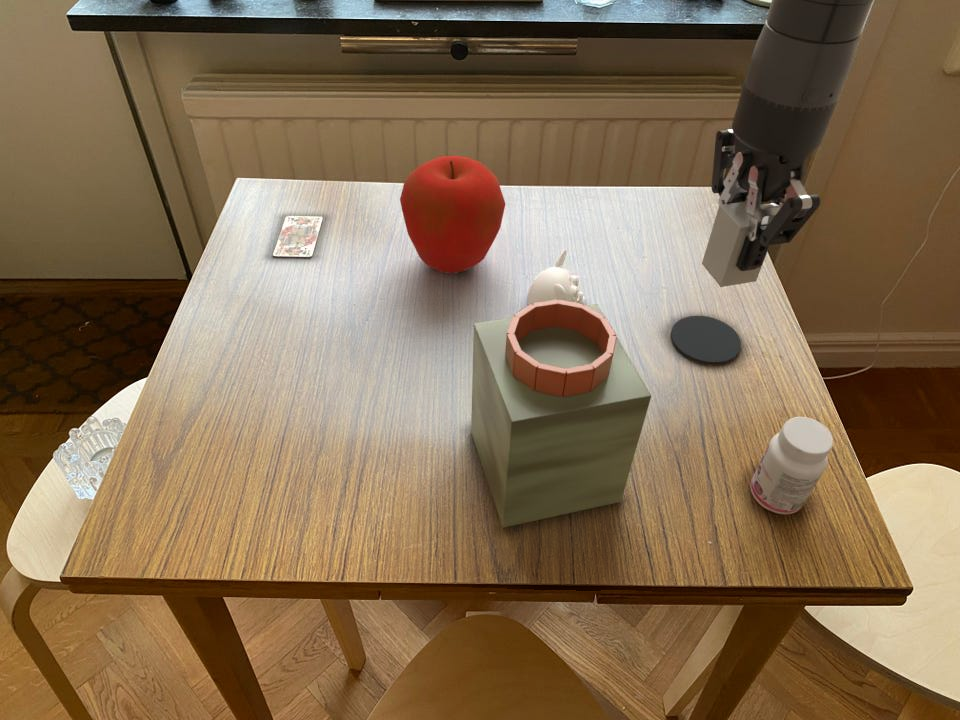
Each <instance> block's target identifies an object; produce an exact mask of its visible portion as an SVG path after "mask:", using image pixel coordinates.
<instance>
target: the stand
mask: <svg viewBox="0 0 960 720" xmlns="http://www.w3.org/2000/svg"><path fill="white" fill-rule="evenodd" d="M587 306H588V307H590V308H591V309H593V310H595V311H596V312H598V313H600V314H601V315H603V316H605V314H604V313H603V311H602V309H601V307H600V306H599V304H597V303H596V304H590V305H589V304H588V305H587ZM511 319H512V317H506V318H500V319H493V320H488V321H481V322H475V323H473V336H472V338H473V339H472V375H471V376H472V380H471V417H470V420H471V421H470V424H471V425H470V433H471V436H472V439H473V442H474V445H475V448H476V451H477V454H478V458H479V460H480V464H481V467H482V470H483V472H484V473H483V474H484V475H485V480H486V482H487V484H488V488H489V490H490V494H491V497H492V500H493V503H494V506H495V509H496V513H497V515H498V518H499V521H500V524H501V527H502V528H508V527H512V526H513V527H514V526H517V525H521V524H527V523H530V522H536V521H539V520H540V521H541V520H544V519H545V520H546V519H549V518H553V517H558V516H563V515H567V514H572V513H576V512H582V511H586V510H591V509H596V508H599V507H603V506H604V507H605V506H609V505H613V504H617V503H621V502H622V499H623V496H624V494H625V493H624V492H625V489H626V485H627V482H628V479H629V476H630V475H629V474H630V473H631V472H630V471H631V468H632V464H633V461H634V458H635V454H636V451H637V447H638V444H639V440H640V437H641V434H642V430H643V427H644V423H645V420H646V419H645V418H646V416H647V413H648V411H649V406H650V403H651V399H652V393H651V392H650V390H649V389H648V388H647V386H646V384H645V382H644V381H643V379H642V377H641V376H640V374H639V372H638V370H637V369H636V367H635V365H634V364H633V362H632V360H631V359H630V357H629V355H628V353H627V352H626V350H625V348H624V347H623V345H622V343H621V342H620V340H619V338H618V337H617V339H616V344H615V349H614V354H613V359H612V363H611V368H610V372H609V376H608V378H607V379H606V380H605V381H603V382H602V383H601V384H600V385H598V386H597V387H596V388H595V389H593V390H592V391H590V392H588V393H583V394H577V395H572V396H566V397H563V396H562V397H560V396H555V395H550V394H546V393H541V392H536V391H535V390H532V389H531V388H529V387H528V386H526V385H525V384H524V383H522V382H521V381H519V380H518V379H517V378H515V377H514V375H512V373H511V370H510V368H509V365H508V363H507V360H506V358H505V349H506V334H507V330H508V328H509V325H510V322H511ZM518 343H519V346H520V348H521V350H522V351H523V352H525V353H526V354H528V355H529V356H531V357H532V358H534V359H535V360H536V361H538V362H539V363H542V364H546V365H551V366H556V367H561V368H571V367H577V366H583V365H588V364H591V363H592V362H594V361H595V360H596V359H597V358H599V357H600V356H601V355H602V353H601V351H600V349H599V348H598V346H597V344H596V342H594V341H592V340H591V339H589V338H588V337H586V336H585V335H583V334H581V333H580V332H578V331H574V330H569V329H564V328H559V327H550V328H544V329H538V330H533V331H531V332H530V333H529V334H527V335H526V336H524V337H523V338H521V339H520V340H518Z"/></svg>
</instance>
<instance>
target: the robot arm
mask: <svg viewBox="0 0 960 720" xmlns="http://www.w3.org/2000/svg"><path fill="white" fill-rule="evenodd" d="M873 2H874V0H771V2H770V5H769V9H768V12H767V15H766V19H765V21H764V24H763V27H762V29H761V32H760V34H759V36H758V38H757V41H756V43H755V45H754V49H753V51H752V55H751V59H750V62H749V65H748V69H747V72H746V75H745V79H744V82H743V85H742V88H741V92H740V96H739V99H738V102H737V106H736V110H735V111H734V112H735V113H734V116H733V118H732V124H731V128H728V129H723V130H718V131H717V132H716V133H715V140H714V141H715V143H714V153H713V163H712V164H713V165H712V177H711V187H710V188H711V192H712V194H717V195H718V196H719V198H718V206H719V205H723V204H730V203H738V202H745V201H748V202H747V209H746V211H747V213H748V214H749V215H750V221H749V227H748V236H746V238H745V240H744V243H743V246H742V249H741V252H740V255H739V258H738V261H737V264H736V266H737V267H738V268H739V270H740V271H747V270H754V269H757V268H759V267H760V266H761V265H762V266H763V264H764V262H765V259H766V256H767V254H768V251H769V249H768V248H770V247H771V246H775V245H776V246H777V245H782V244H783V245H784V244H789V243H790V242H791V241H792V240H793V239H794V238H795V237H796V235H797V234H798V233H799V231H800V230H801V229H802V228H803V227H804V225H805V224H806V223H807V222H808V221H809V219H810V218H811V217H812V216H813V215H814V213H815V212H816V211H817V209H818V208H819V207H820V205H821V198H820V196H819V195H818V194H817V193H815V194H808V192H807V191H806V189H805V187H804V185H803V184H802V182H803V179H804V177H805V164H806V161H807V159H808V157H810V155H812V153H813V152H815V151H816V150H817V149H818V148H819V147H820V146H821V144H822V142H823V139H824V137H825V134H826V132H827V130H828V127H829V125H830V121H831V119H832V117H833V114H834V111H835V109H836V106H837V104H838V102H839V99H840V96H841V94H842V91H843V88H844V86H845V83H846V81H847V78H848V76H849V74H850V70H851V68H852V66H853V61H854V58H855V53H856V49H857V45H858V42H859V40H860V35H861V33H862V31H863V28H864V26H865V23H866V20H867V18H868V16H869V13H870V10H871V8H872V6H873ZM729 168H730V169H729ZM726 169H729V171H728V173H727V174H726V177H725V179H724V173H725V170H726ZM766 202H770V203H766ZM761 203H762V204H761ZM765 216H769V217H768V223H767V226H761V224H762V219H763V218H764V217H765ZM766 253H767V254H766ZM763 261H764V262H763Z"/></svg>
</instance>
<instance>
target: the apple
mask: <svg viewBox="0 0 960 720" xmlns="http://www.w3.org/2000/svg"><path fill="white" fill-rule="evenodd" d="M399 201H400V206H401V212H402V215H403V216H402V217H403V219H404V225H405V228H406V232H407V235H408V237H409V239H410V241H411V243H412V245H413V248H414V249H415V251H416V253H417V255H418V257H419V258H420V259H421V261H422V262H423V263H424V264H425V265H426V266H428V267H430V268H431V269H434V270H437V271H438V272H441V273H444V274H457V273H458V274H459V273H461V272H465V271H467V270H469V269H471V268H473V267H476V266H477V265H478V264H480V263H481V262H482V261H484V260H485V258H486V256H487V254H488V252H489V250H490V249H491V247H492V245H493V243H494V241H495V240H496V238H497V236H498V234H499V231H500V230H501V226H502V221H503V218H504V212H505V209H506V201H505V198H504V194H503V191H502V189H501V186H500V182H499V180H498V177H497V176H496V175H495V174H494V173H493V172H492V171H491V170H489V168H488V167H486V166H485V165H484V164H483V163H481V162H480V161H478V160H475V159H472V158H470V157H465V156H460V155H446V156H445V155H442V156H439V157H435V158H433V159H429V160H427V161H426V162H424V163H421V164H420V165H419V166H417V168H415V169H414V170H413V171H412V172H410V173H409V175H408V176H407V178H406V179H405V181H404V182H403V186H402V189H401V194H400V198H399Z"/></svg>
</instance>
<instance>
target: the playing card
mask: <svg viewBox="0 0 960 720" xmlns="http://www.w3.org/2000/svg"><path fill="white" fill-rule="evenodd" d="M323 219H324V217H323V216H313V215H311V216H309V215H306V216H305V215H302V216H301V215H287V216H286V217H285V219H284V222H283V223H282V227H281V230H280V233H279V235H278V239H277V241H276V244H275V248H274V250H273V253H272V256H273V257H290V258H291V257H297V258H298V257H299V258H310V257H312V256H313V255H314V250H315V248H316V244H317V241H318V237H319V233H320V229H321V227H322V226H321V225H322V223H323Z"/></svg>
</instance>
